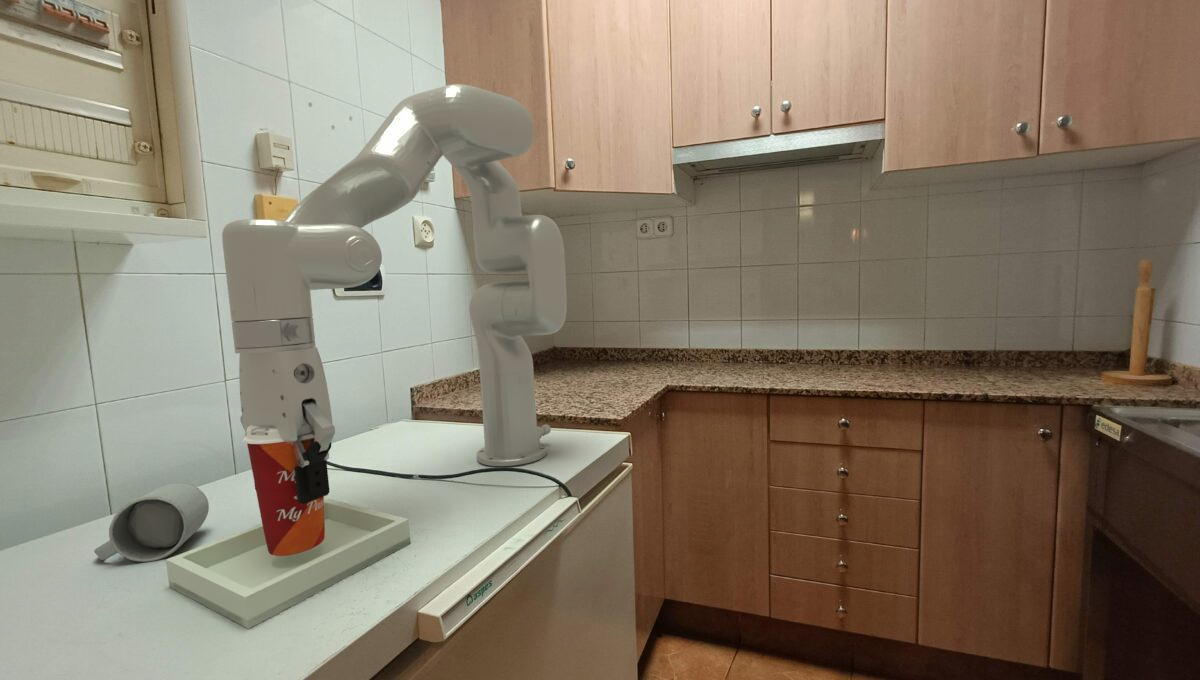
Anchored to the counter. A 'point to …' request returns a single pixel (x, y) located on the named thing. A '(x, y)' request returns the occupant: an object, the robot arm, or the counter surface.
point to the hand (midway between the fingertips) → (291, 492)
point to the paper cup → (283, 494)
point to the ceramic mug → (156, 523)
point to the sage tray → (284, 564)
